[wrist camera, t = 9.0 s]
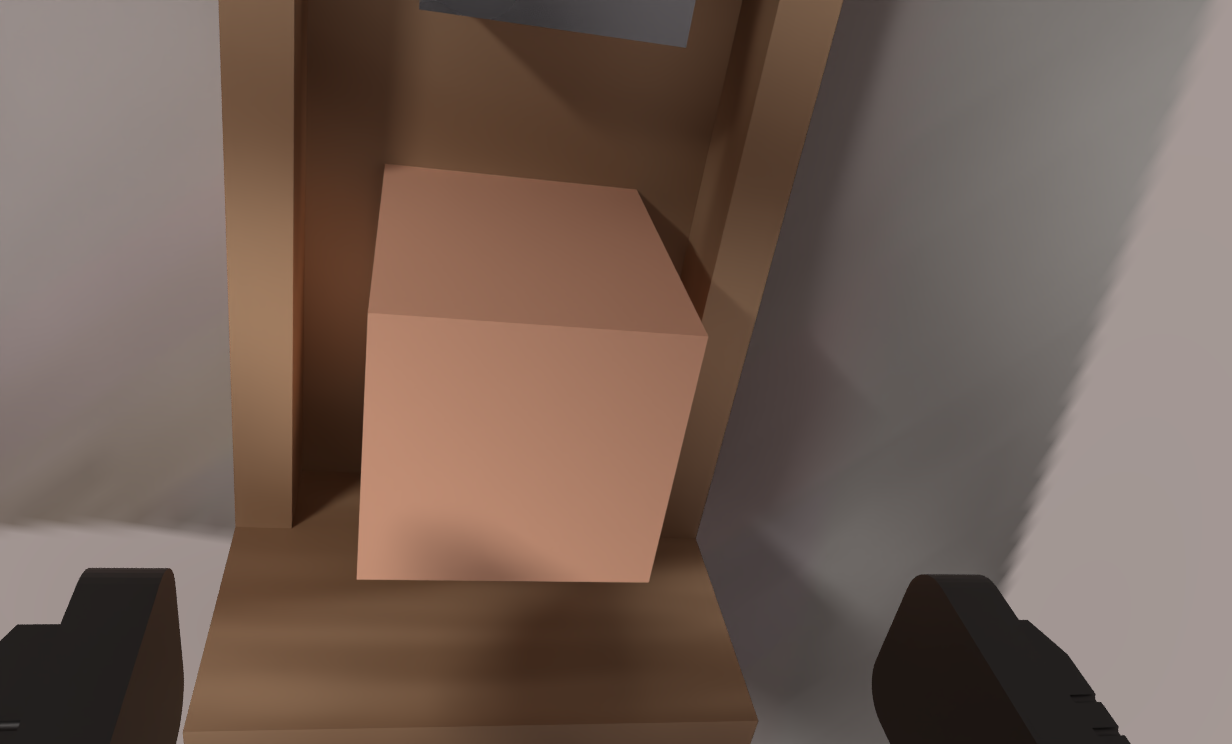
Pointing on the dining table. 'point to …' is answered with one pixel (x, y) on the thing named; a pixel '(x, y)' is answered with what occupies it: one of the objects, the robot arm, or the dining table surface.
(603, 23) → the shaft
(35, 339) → the dining table surface
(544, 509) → the block
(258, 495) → the wooden tray
